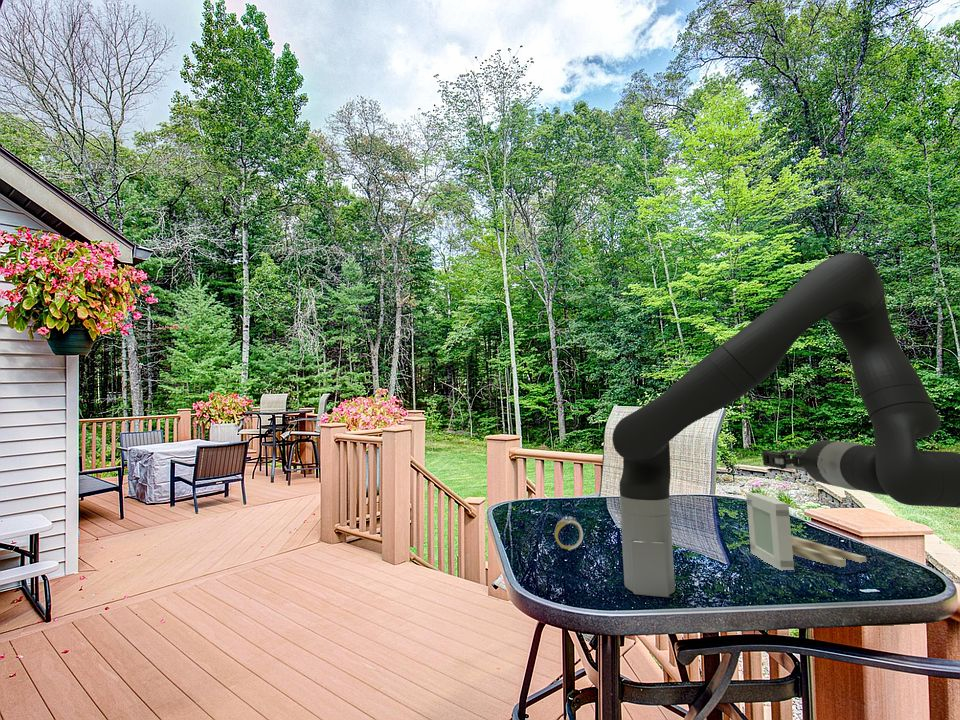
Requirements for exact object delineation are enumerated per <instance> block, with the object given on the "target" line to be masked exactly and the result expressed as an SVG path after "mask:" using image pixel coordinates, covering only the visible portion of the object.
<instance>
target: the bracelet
mask: <svg viewBox="0 0 960 720" xmlns="http://www.w3.org/2000/svg"><path fill="white" fill-rule="evenodd" d="M567 524H571V525H574V526H575V527H576V528H577V530H578V532H579V534H578V535H579V537H578V540H577V541H576V543H575V544H573V545H570V544H568V545H564V544H562V542H561V541H560V540H559V532H560V531H561V529H562V528H563V527H565V526H566V525H567ZM554 538H555V541H556V543H557V545H558V546H559V547H561V548H562V549H564V550H568V551H572V550H574V549H576V548H578V547H579V546H580V545H581V544H582V541H583V538H584V531H583V528H582V526H581V524H580V523H579V522H578V521H577V520H576V517H573V516H570V515H569V516H567V515H565V516H563V517H562V518H561V519H560V520H559V521H558V522H557V523H556V526H555V529H554Z"/></svg>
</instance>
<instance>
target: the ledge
mask: <svg viewBox="0 0 960 720" xmlns="http://www.w3.org/2000/svg"><path fill="white" fill-rule="evenodd" d="M791 539H792V550H793V555H795V556H798V557H802V558H805V559H809V560H812V561H816V562H820V563H823V564H828V565H833V566H837V567H840V568H841V567H845V566H846V559H848V560H852V561H855V562H859V563H862V562H867V556H865V555H860V554H857V553H853V552H850V551H847V550H843V549H840V548H837V547H833V546H829V545H825V544H822V543H820V542H816V541H813V540H809V539H806V538H803V537H802V538H801V537H799V536H795V535H792V534H791ZM843 558H844V559H843Z"/></svg>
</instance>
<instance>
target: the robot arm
mask: <svg viewBox="0 0 960 720" xmlns="http://www.w3.org/2000/svg"><path fill="white" fill-rule="evenodd" d="M824 318H825V319H826V320H827V322H828V323H829V324H830V325H831V327H832V329H833V330H834V331H835V333H836V334H837V336H838V337H839V339H840V340H841V341H842V343H843V345H844V348H845V349H846V352H847V354H848V357H849V359H850V360H849V361H850V363H851V367H852V371H853V375H854V380H855V383H856V387H857V389H858V393H859V395H860V397H861V400H862V403H863V406H864V408H865V410H866V413H867V415H868V418H869V421H870V422H871V424H872V428H873V438H874V445H867V444H863V443H862V444H861V443H857V442H852V441H840V440H831V439H830V440H828V439H826V440H825V439H824V440H823V439H822V440H818V441H815V442H812V443H811V444H810V445H809V446H808V447H807V448H802V449H784V450H781V451H776V450H763V451H762V452H761V457H762V461H763V462H762V463H763V464H762V465H763V466H765V467H772V468H776V469H777V468H778V469H781V470H785V469H786V470H787V469H789V470H800V471H801V472H807V474H808V475H809V476H810V477H811V478H812V479H813V480H814V481H817V482H818V483H822V484H824V485H825V484H826V485H828V486H829V485H830V486H833V487H837V488H842V489H847V490H850V491H851V490H852V491H861V492H865V493H871V494H876V495H880V496H881V495H884V496H889V497H890V498H891V499H892V500H894V501H896V502H897V503H899V504H903V505H908V506H915V507H916V506H917V507H935V508H936V507H937V508H958V509H959V508H960V453H958V452H955V451H943V450H942V451H938V450H937V451H936V450H919V448H918V447H917V443H916V440H919V439H922V438H926V437H929V436H931V435H933V434H935V433H936V432H938V430H940V429H939V428H940V427H941V419H940V416H939V414H938V412H937V410H936V408H935V405H934V403H933V401H932V399H931V398H930V396H929V394H928V392H927V389H926V388H925V386H924V383H923V381H922V380H921V378H920V376H919V374H918V372H917V371H916V370H915V368H914V366H913V365H912V363H911V361H910V360H909V358H908V357H907V355H906V354H905V352H904V351H903V349H902V348H901V345H899V341H898V340H897V338H896V335H895V332H894V331H893V328H892V324H891V322H890V317H889V313H888V307H887V302H886V296H885V287H884V284H883V280H882V279H881V276H880V274H879V271H878V270H877V267H876V266H875V264H874V262H873V261H872V260H871V259H870V258H869V256H867V255H865V254H863V253H857V252H846V253H839V254H837V255H833V256H831V257H828V258H827V259H825V260H823V261H821V262H819V264H816V266H815V267H813V268H812V269H811V270H809V271H808V272H807V273H806V274H805V275H804V276H803V277H802V278H800V279H799V280H798V281H797V283H795V284H794V285H793V286H792V287H791V288H790V289H789V290H787V291H786V293H785V294H783V295H782V296H781V297H780V298H779V299H778V300H777V301H775V303H773V304H772V305H771V306H770V307H768V308H767V309H766V310H764V312H762V313H761V314H760V315H759V316H757V318H755V319H753V320H752V321H751V322H750V323H748V324H747V325H745V326H744V327H743V328H742V329H741V330H739V331H738V332H737V333H736V334H734V335H733V336H731V337H730V338H729V339H728V340H726V341H724V342H723V343H721V345H718V347H717V348H715V349H714V350H713V351H711V352H710V353H708V354H707V355H706V356H704V358H702V359H701V360H700V361H699V362H698V363H696V364H695V365H694V366H692V368H690V369H688V371H687V372H686V373H685V374H683V375H682V376H681V377H680V378H678V380H676V382H674V383H673V384H672V385H671V386H670V387H669V388H668V389H666V390H665V391H664V392H663V393H661V394H660V395H659V396H657V397H656V398H655V399H653V400H651V401H650V402H648V403H647V404H645V405H643V406H642V407H640V408H637V409H636V410H634V411H633V412H632V413H630V414H628V415H626V416H625V417H623V418H622V419H621V420H619V421H618V423H617V424H616V426H615V427H614V428H613V429H614V430H613V433H612V445H613V448H614V450H615V452H616V453H617V454H618V455H619V457H622V460H623V461H622V462H623V463H622V464H623V466H622V474H621V478H620V480H619V498H620V499H619V502H620V523H621V525H620V526H621V527H620V528H621V543H622V544H621V545H622V547H621V548H622V564H623V581H624V582H623V584H624V587H625V588H626V589H627V590H629V591H631V592H632V593H633V595H639V596H640V595H641V596H650V597H651V596H652V597H662V598H669V597H670V595H672V594H673V593H675V591H676V583H675V567H674V551H673V537H672V519H671V504H670V503H671V500H670V484H671V477H672V476H671V455H670V454H671V450H670V441H672V440H673V439H674V438H675V437H676V436H678V435H679V434H680V433H681V432H683V430H685V429H686V428H687V427H689V426H690V425H692V424H694V423H696V422H697V421H699V420H701V419H703V418H705V417H707V416H710V415H711V414H713V413H715V412H717V411H720V410H722V409H723V408H725V407H727V406H728V405H730V404H732V403H733V402H735V401H736V400H739V399H741V397H743V396H745V395H746V394H747V393H749V392H750V391H752V390H753V389H754V388H756V387H758V386H759V384H762V382H764V381H765V380H767V378H769V377H770V376H771V375H772V374H773V372H774V371H775V370H776V369H777V367H778V366H779V365H780V364H781V362H782V361H783V359H784V358H785V356H786V355H787V353H788V352H789V350H790V349H791V348H792V346H793V345H794V344H795V342H796V341H797V340H798V339H799V338H800V337H801V336H802V335H803V334H804V333H805V332H807V330H809V329H810V328H811V327H812V326H814V325H815V324H816V323H818V322H819V321H821V320H822V319H824ZM791 454H793V455H792V456H791Z"/></svg>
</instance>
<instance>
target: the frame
mask: <svg viewBox="0 0 960 720" xmlns="http://www.w3.org/2000/svg"><path fill="white" fill-rule="evenodd" d="M745 496H746V507H747V520H748V531H749V547H750V554H751V553H752V554H753V555H755V556H757V557H758V558H760V559H761V560H763V561H764V562H766V563H768V564H770V565H772V566H773V567H775V568H777V569H779V570H781V571H783V570H794V571H795V565H794V562H795V561H794V559H793V550H792V539H791V535H792V531H791V520H790V517H791V516H790V506H789V503H787V502H784V501H781V500H779V499H775V498H773V497H770V496H767V495H765V494H762V493H759V492H746V493H745ZM752 554H751V555H752ZM753 555H752V556H753ZM755 556H754V557H755ZM757 557H756V558H757ZM758 558H757V559H758ZM760 559H759V560H760ZM761 560H760V561H761ZM763 561H762V562H763ZM764 562H763V563H764ZM766 563H765V564H766Z"/></svg>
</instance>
